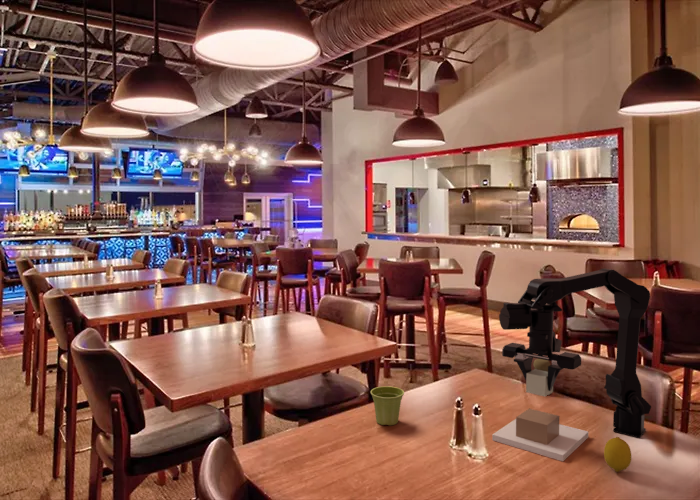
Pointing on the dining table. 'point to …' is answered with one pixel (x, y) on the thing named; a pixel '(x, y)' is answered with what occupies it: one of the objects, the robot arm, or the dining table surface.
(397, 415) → the plant pot
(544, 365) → the cork
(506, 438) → the build board
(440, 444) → the dining table surface
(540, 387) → the sage block
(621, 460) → the lemon
